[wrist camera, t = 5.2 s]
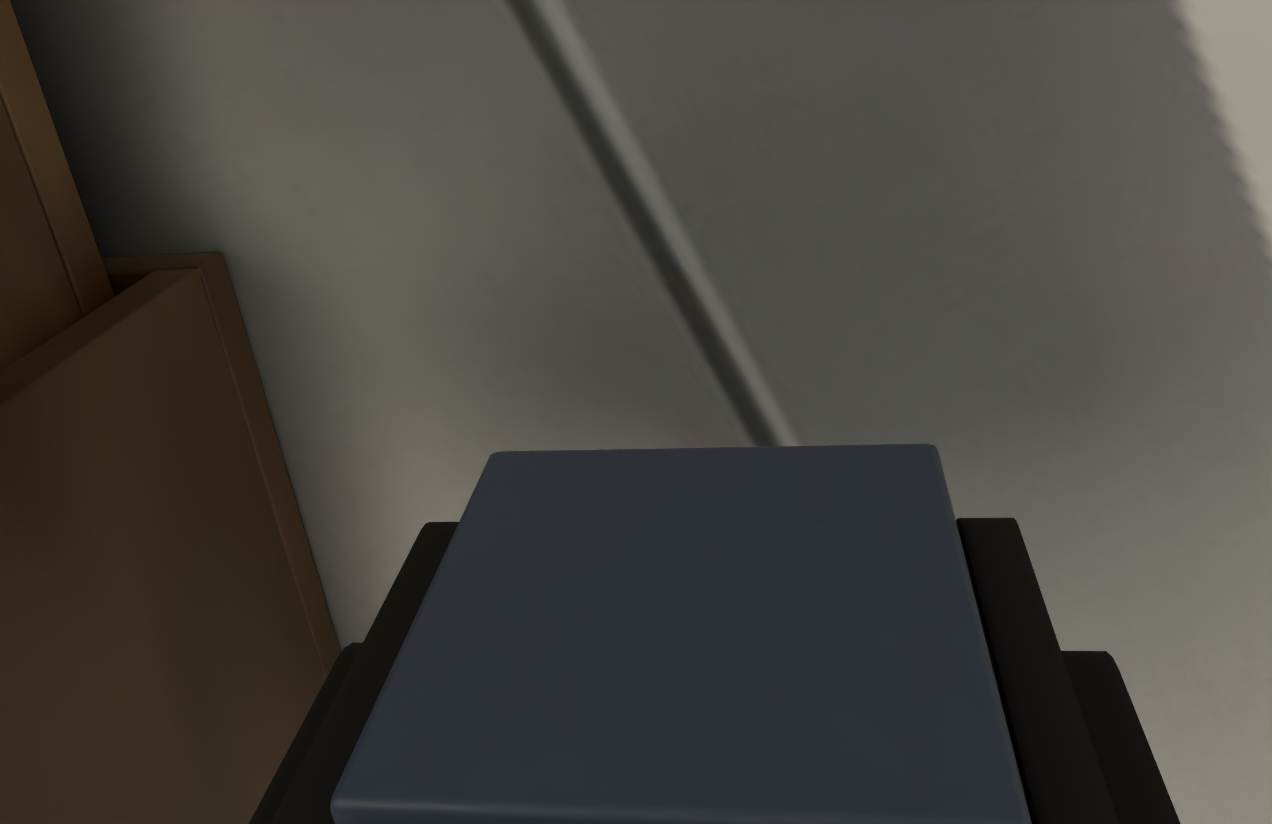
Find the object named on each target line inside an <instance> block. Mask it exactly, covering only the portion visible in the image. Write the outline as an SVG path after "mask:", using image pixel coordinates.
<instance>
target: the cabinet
mask: <svg viewBox="0 0 1272 824" xmlns="http://www.w3.org/2000/svg"><path fill="white" fill-rule="evenodd" d="M101 259H102V262H103V265H104V267H105V270H106V273H107V276H108V279H109V282H110V284H111V287H112V290H113V293H114V296H115V297H114V298H112V299H111V300H109V301H108V302H106V303H105V304H103V305H102V306H100V307H99V308H97V309H96V310H94V311H93V312H91V313H90V314H88V315H86V316H85V317H83V318H82V319H80V320H79V321H77V322H76V323H74V324H73V325H71V326H70V327H68V328H67V329H65V330H64V331H62V332H61V333H59V334H57V335H56V336H54V337H53V338H51V339H50V340H48V341H47V342H45V343H44V344H42V345H41V346H39V347H38V348H36V349H35V350H33V351H32V352H30V353H28V354H27V355H25V356H24V357H22V358H21V359H19V360H18V361H16V362H15V363H13V364H12V365H10V366H9V367H7V368H6V369H4V370H3V371H1V372H0V824H249V822H250V820H251V818H252V816H253V815H254V813H255V811H256V809H257V807H258V805H259V803H260V801H261V800H262V798H263V796H264V794H265V792H266V790H267V788H268V787H269V785H270V783H271V781H272V779H273V777H274V775H275V773H276V772H277V770H278V768H279V766H280V764H281V762H282V760H283V758H284V757H285V755H286V753H287V751H288V749H289V747H290V745H291V744H292V742H293V740H294V738H295V736H296V734H297V732H298V730H299V729H300V727H301V725H302V723H303V721H304V719H305V717H306V715H307V714H308V712H309V710H310V708H311V706H312V704H313V702H314V701H315V699H316V697H317V695H318V693H319V691H320V689H321V687H322V686H323V684H324V682H325V680H326V678H327V676H328V674H329V673H330V671H331V669H332V667H333V665H334V663H335V661H336V659H337V658H338V656H339V655H340V654H341V653H340V650H339V646H338V643H337V640H336V636H335V633H334V630H333V626H332V623H331V619H330V616H329V613H328V609H327V606H326V602H325V599H324V596H323V592H322V589H321V586H320V582H319V579H318V575H317V572H316V569H315V565H314V562H313V558H312V555H311V552H310V548H309V545H308V542H307V538H306V535H305V531H304V528H303V525H302V521H301V518H300V515H299V511H298V508H297V504H296V501H295V498H294V494H293V491H292V487H291V484H290V481H289V477H288V474H287V471H286V467H285V464H284V460H283V457H282V454H281V450H280V447H279V443H278V440H277V437H276V433H275V430H274V427H273V423H272V420H271V416H270V413H269V410H268V406H267V403H266V399H265V396H264V393H263V389H262V386H261V383H260V379H259V376H258V372H257V369H256V366H255V362H254V359H253V356H252V352H251V349H250V345H249V342H248V339H247V335H246V332H245V328H244V325H243V322H242V318H241V315H240V312H239V308H238V305H237V301H236V298H235V295H234V291H233V288H232V284H231V281H230V278H229V274H228V271H227V268H226V264H225V261H224V257H223V255H222V254H221V253H217V252H213V253H193V254H173V255H153V256H133V257H113V258H101Z"/></svg>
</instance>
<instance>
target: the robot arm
mask: <svg viewBox="0 0 1272 824" xmlns="http://www.w3.org/2000/svg"><path fill="white" fill-rule="evenodd" d="M458 524H459V522H429V523H426V524H425V525H424V526H423V528H422V529H421V531H420V533H419V535H418V537H417V539H416V541H415V543H414V544H413V546H412V548H411V550H410V552H409V554H408V556H407V558H406V560H405V562H404V564H403V566H402V568H401V570H400V572H399V574H398V576H397V578H396V580H395V581H394V583H393V585H392V587H391V589H390V591H389V593H388V595H387V597H386V599H385V601H384V603H383V605H382V607H381V609H380V611H379V613H378V615H377V617H376V618H375V620H374V622H373V624H372V626H371V628H370V630H369V632H368V634H367V636H366V638H365V640H364V642H363V643H351V644H350V645H348V646H347V647H345V648H344V649H343V651H342V652H341V654H340V655H339V656H338V658H337V659H336V661H335V663H334V665H333V667H332V669H331V671H330V673H329V674H328V676H327V678H326V680H325V682H324V684H323V686H322V687H321V689H320V691H319V693H318V695H317V697H316V699H315V701H314V702H313V704H312V706H311V708H310V710H309V712H308V714H307V715H306V717H305V719H304V721H303V723H302V725H301V727H300V729H299V730H298V732H297V734H296V736H295V738H294V740H293V742H292V744H291V745H290V747H289V749H288V751H287V753H286V755H285V757H284V758H283V760H282V762H281V764H280V766H279V768H278V770H277V772H276V773H275V775H274V777H273V779H272V781H271V783H270V785H269V787H268V788H267V790H266V792H265V794H264V796H263V798H262V800H261V801H260V803H259V805H258V807H257V809H256V811H255V813H254V815H253V816H252V818H251V820H250V822H249V824H335V823H334V820H333V817H332V814H331V799H332V795H333V793H334V791H335V789H336V786H337V784H338V782H339V780H340V778H341V776H342V774H343V771H344V769H345V767H346V765H347V763H348V761H349V758H350V756H351V754H352V752H353V750H354V748H355V746H356V743H357V741H358V739H359V737H360V735H361V733H362V730H363V728H364V726H365V724H366V722H367V720H368V718H369V715H370V713H371V711H372V709H373V707H374V705H375V702H376V700H377V698H378V696H379V694H380V692H381V690H382V687H383V685H384V683H385V681H386V679H387V677H388V674H389V672H390V670H391V668H392V666H393V664H394V662H395V659H396V657H397V655H398V653H399V651H400V649H401V647H402V644H403V642H404V640H405V638H406V636H407V634H408V631H409V629H410V627H411V625H412V623H413V621H414V619H415V616H416V614H417V612H418V610H419V608H420V606H421V603H422V601H423V599H424V597H425V595H426V593H427V591H428V588H429V586H430V584H431V582H432V580H433V578H434V575H435V573H436V571H437V569H438V567H439V565H440V563H441V560H442V558H443V556H444V554H445V552H446V550H447V547H448V545H449V543H450V541H451V539H452V537H453V535H454V532H455V530H456V528H457V526H458ZM956 524H957V528H958V532H959V536H960V540H961V544H962V548H963V552H964V556H965V560H966V564H967V568H968V571H969V575H970V579H971V583H972V587H973V591H974V595H975V599H976V603H977V607H978V611H979V615H980V619H981V623H982V627H983V631H984V635H985V639H986V643H987V647H988V651H989V655H990V659H991V663H992V667H993V671H994V675H995V679H996V683H997V687H998V691H999V695H1000V699H1001V703H1002V707H1003V711H1004V715H1005V719H1006V723H1007V727H1008V731H1009V735H1010V739H1011V743H1012V747H1013V751H1014V755H1015V759H1016V763H1017V767H1018V771H1019V775H1020V779H1021V783H1022V787H1023V791H1024V795H1025V799H1026V803H1027V807H1028V811H1029V814H1030V818H1031V822H1032V824H1180V822H1179V819H1178V817H1177V814H1176V812H1175V809H1174V806H1173V804H1172V801H1171V799H1170V796H1169V794H1168V791H1167V789H1166V786H1165V784H1164V781H1163V779H1162V776H1161V774H1160V771H1159V769H1158V766H1157V764H1156V761H1155V759H1154V756H1153V754H1152V751H1151V749H1150V746H1149V744H1148V741H1147V739H1146V736H1145V734H1144V731H1143V729H1142V726H1141V724H1140V721H1139V719H1138V716H1137V714H1136V711H1135V709H1134V706H1133V704H1132V701H1131V699H1130V696H1129V694H1128V691H1127V689H1126V686H1125V684H1124V681H1123V679H1122V676H1121V674H1120V671H1119V669H1118V667H1117V665H1116V663H1115V661H1114V659H1113V657H1112V656H1111V655H1110V654H1108V653H1107V652H1106V651H1061V650H1060V647H1059V644H1058V641H1057V638H1056V635H1055V632H1054V629H1053V626H1052V623H1051V621H1050V618H1049V615H1048V612H1047V609H1046V606H1045V603H1044V600H1043V597H1042V594H1041V591H1040V588H1039V585H1038V582H1037V579H1036V576H1035V573H1034V570H1033V567H1032V564H1031V561H1030V558H1029V555H1028V552H1027V549H1026V546H1025V543H1024V540H1023V537H1022V535H1021V532H1020V529H1019V526H1018V523H1017V521H1016V520H1015V519H1014V518H958V519H957V520H956Z"/></svg>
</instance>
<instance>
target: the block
mask: <svg viewBox="0 0 1272 824" xmlns="http://www.w3.org/2000/svg"><path fill="white" fill-rule="evenodd" d="M331 814H332V817H333V820H334V823H335V824H1032V822H1031V818H1030V814H1029V811H1028V807H1027V803H1026V799H1025V795H1024V791H1023V787H1022V783H1021V779H1020V775H1019V771H1018V767H1017V763H1016V759H1015V755H1014V751H1013V747H1012V743H1011V739H1010V735H1009V731H1008V727H1007V723H1006V719H1005V715H1004V711H1003V707H1002V703H1001V699H1000V695H999V691H998V687H997V683H996V679H995V675H994V671H993V667H992V663H991V659H990V655H989V651H988V647H987V643H986V639H985V635H984V631H983V627H982V623H981V619H980V615H979V611H978V607H977V603H976V599H975V595H974V591H973V587H972V583H971V579H970V575H969V571H968V568H967V564H966V560H965V556H964V552H963V548H962V544H961V540H960V536H959V532H958V528H957V524H956V520H955V516H954V512H953V508H952V504H951V500H950V496H949V492H948V488H947V484H946V480H945V476H944V472H943V468H942V464H941V460H940V456H939V453H938V450H937V448H936V447H935V446H934V445H931V444H884V445H830V446H776V447H722V448H668V449H614V450H560V451H506V452H496V453H493V454H491V455H490V457H489V459H488V461H487V463H486V466H485V468H484V470H483V472H482V474H481V476H480V479H479V481H478V483H477V485H476V487H475V489H474V491H473V494H472V496H471V498H470V500H469V502H468V504H467V507H466V509H465V511H464V513H463V515H462V517H461V519H460V522H459V524H458V526H457V528H456V530H455V532H454V535H453V537H452V539H451V541H450V543H449V545H448V547H447V550H446V552H445V554H444V556H443V558H442V560H441V563H440V565H439V567H438V569H437V571H436V573H435V575H434V578H433V580H432V582H431V584H430V586H429V588H428V591H427V593H426V595H425V597H424V599H423V601H422V603H421V606H420V608H419V610H418V612H417V614H416V616H415V619H414V621H413V623H412V625H411V627H410V629H409V631H408V634H407V636H406V638H405V640H404V642H403V644H402V647H401V649H400V651H399V653H398V655H397V657H396V659H395V662H394V664H393V666H392V668H391V670H390V672H389V674H388V677H387V679H386V681H385V683H384V685H383V687H382V690H381V692H380V694H379V696H378V698H377V700H376V702H375V705H374V707H373V709H372V711H371V713H370V715H369V718H368V720H367V722H366V724H365V726H364V728H363V730H362V733H361V735H360V737H359V739H358V741H357V743H356V746H355V748H354V750H353V752H352V754H351V756H350V758H349V761H348V763H347V765H346V767H345V769H344V771H343V774H342V776H341V778H340V780H339V782H338V784H337V786H336V789H335V791H334V793H333V795H332V799H331Z"/></svg>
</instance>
